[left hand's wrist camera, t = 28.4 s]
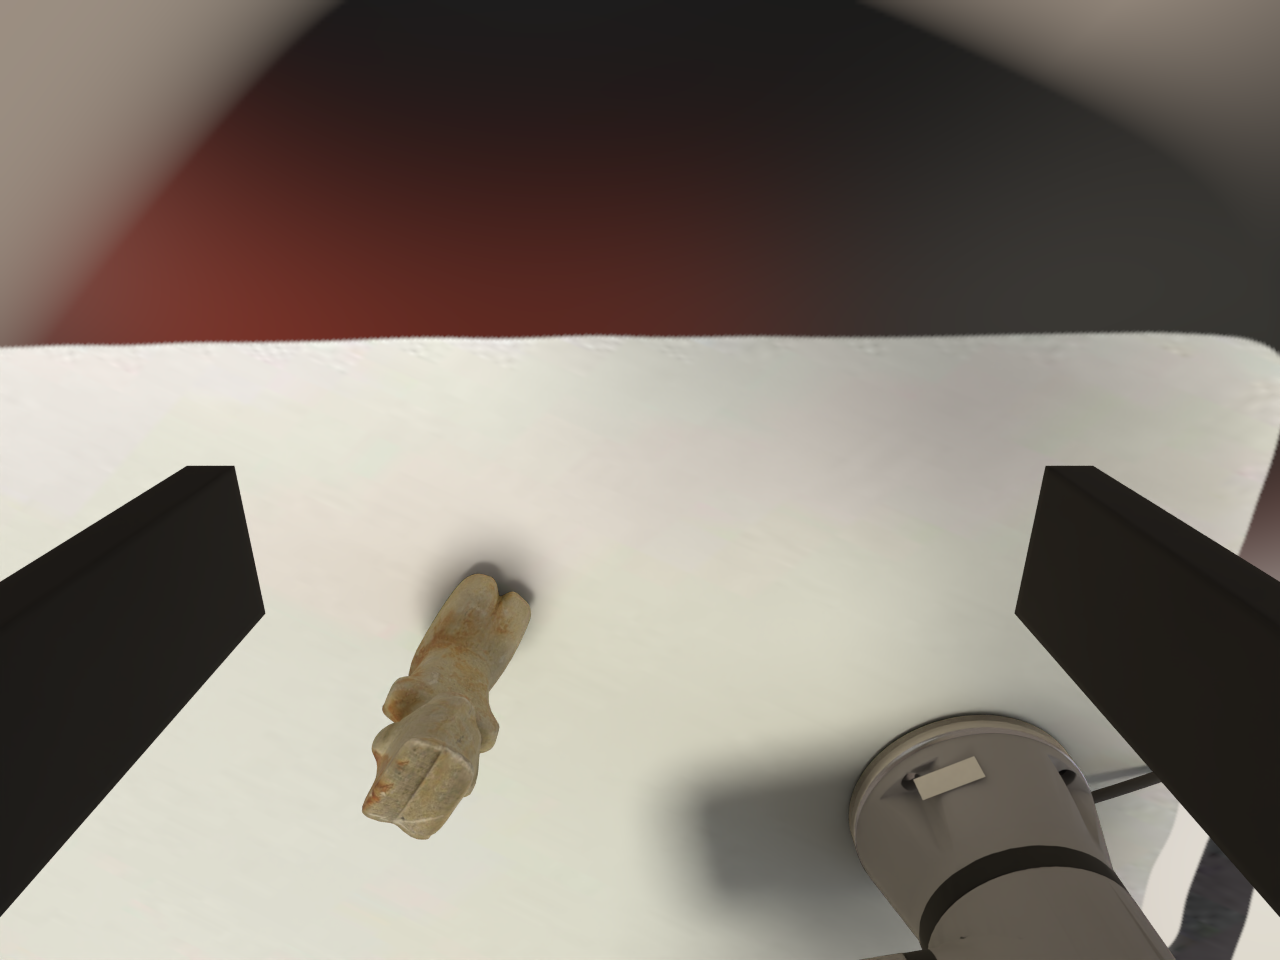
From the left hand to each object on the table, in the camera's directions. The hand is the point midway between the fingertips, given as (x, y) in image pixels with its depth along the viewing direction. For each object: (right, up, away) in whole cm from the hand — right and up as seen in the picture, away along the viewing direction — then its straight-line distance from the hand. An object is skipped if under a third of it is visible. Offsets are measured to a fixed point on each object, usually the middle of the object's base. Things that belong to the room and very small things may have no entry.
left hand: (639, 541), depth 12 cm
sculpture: (-10, -7, +33) cm, 35 cm away
